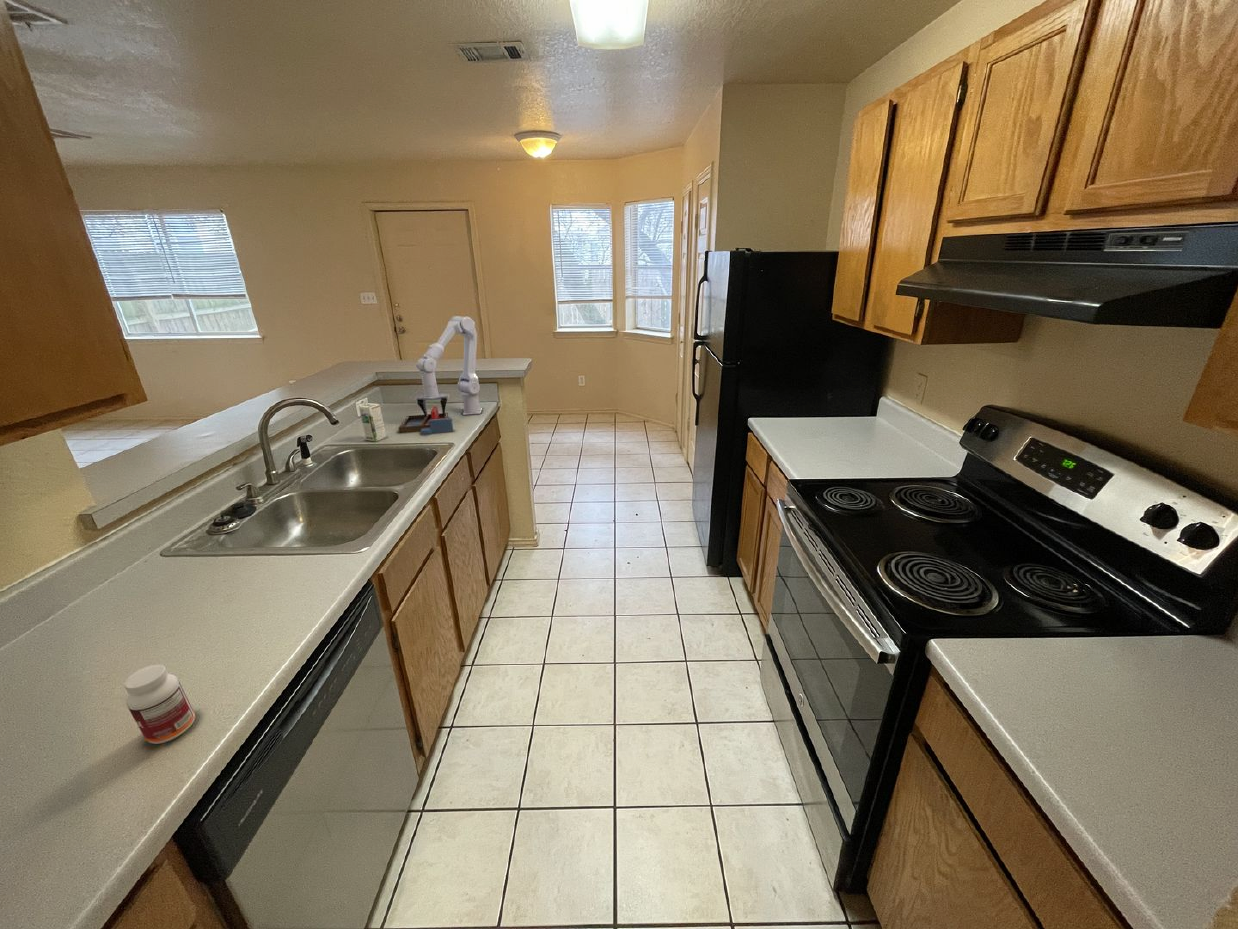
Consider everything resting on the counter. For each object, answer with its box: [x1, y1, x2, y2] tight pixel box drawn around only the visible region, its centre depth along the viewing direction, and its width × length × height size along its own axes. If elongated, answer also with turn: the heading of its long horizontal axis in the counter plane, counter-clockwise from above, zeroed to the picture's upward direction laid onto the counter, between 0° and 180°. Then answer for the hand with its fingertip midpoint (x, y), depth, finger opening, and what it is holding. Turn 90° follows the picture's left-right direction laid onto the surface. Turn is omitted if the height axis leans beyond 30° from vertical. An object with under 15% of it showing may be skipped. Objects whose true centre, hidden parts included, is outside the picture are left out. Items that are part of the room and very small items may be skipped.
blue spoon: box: [420, 417, 454, 436], centre depth 213 cm, size 13×4×6 cm, turn 100°
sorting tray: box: [398, 412, 450, 434], centre depth 224 cm, size 17×18×2 cm
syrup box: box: [358, 402, 387, 442], centre depth 206 cm, size 6×6×14 cm
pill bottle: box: [123, 664, 196, 745], centre depth 78 cm, size 6×6×11 cm
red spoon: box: [428, 405, 439, 425], centre depth 224 cm, size 13×4×6 cm, turn 10°
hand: (435, 415), depth 226 cm, fingers open, 7 cm apart
